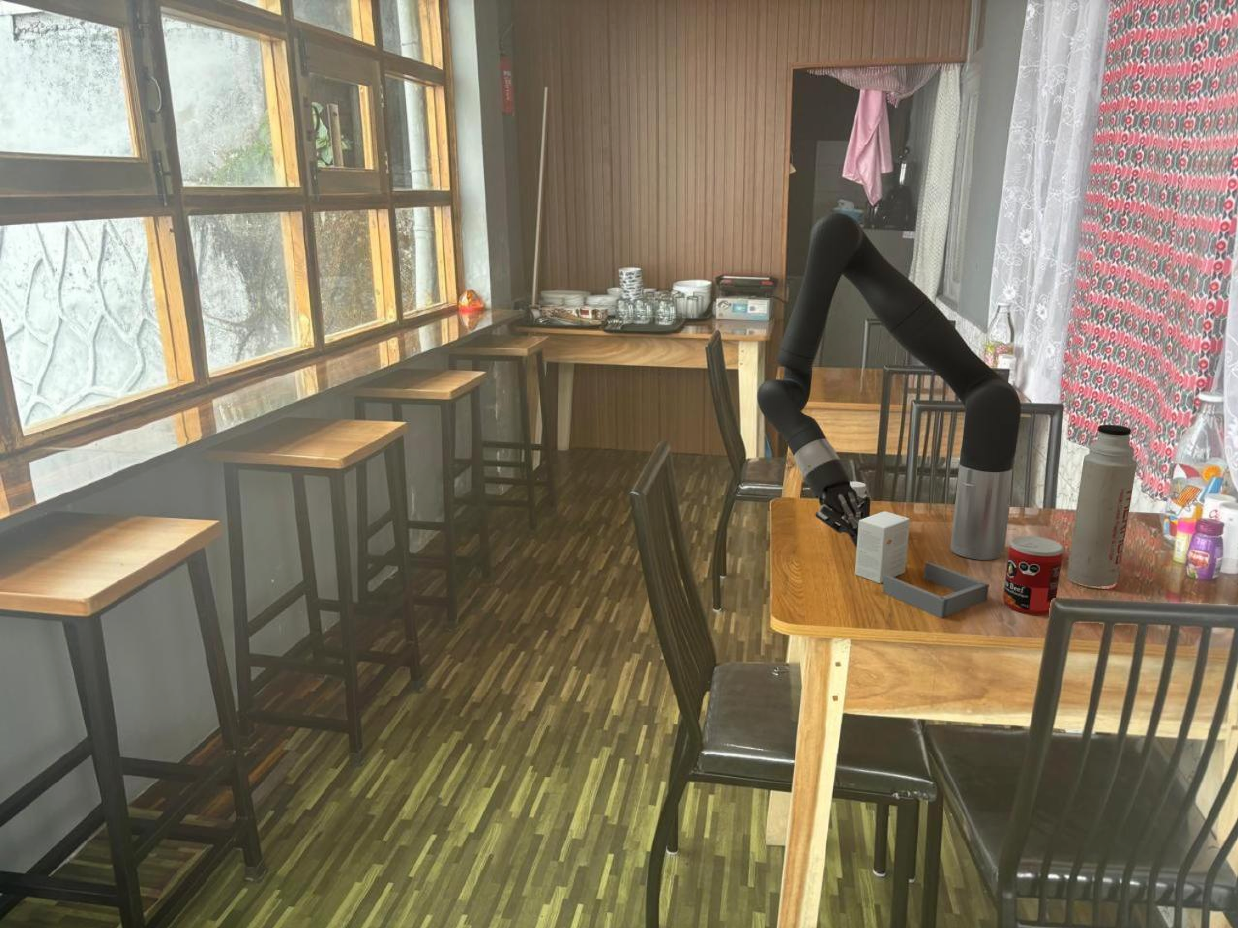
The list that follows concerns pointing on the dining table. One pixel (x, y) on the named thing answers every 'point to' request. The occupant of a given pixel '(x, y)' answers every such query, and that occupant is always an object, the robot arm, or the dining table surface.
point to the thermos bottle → (1102, 508)
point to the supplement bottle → (859, 489)
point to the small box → (882, 546)
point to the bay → (965, 596)
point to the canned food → (1032, 574)
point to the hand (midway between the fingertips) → (866, 548)
